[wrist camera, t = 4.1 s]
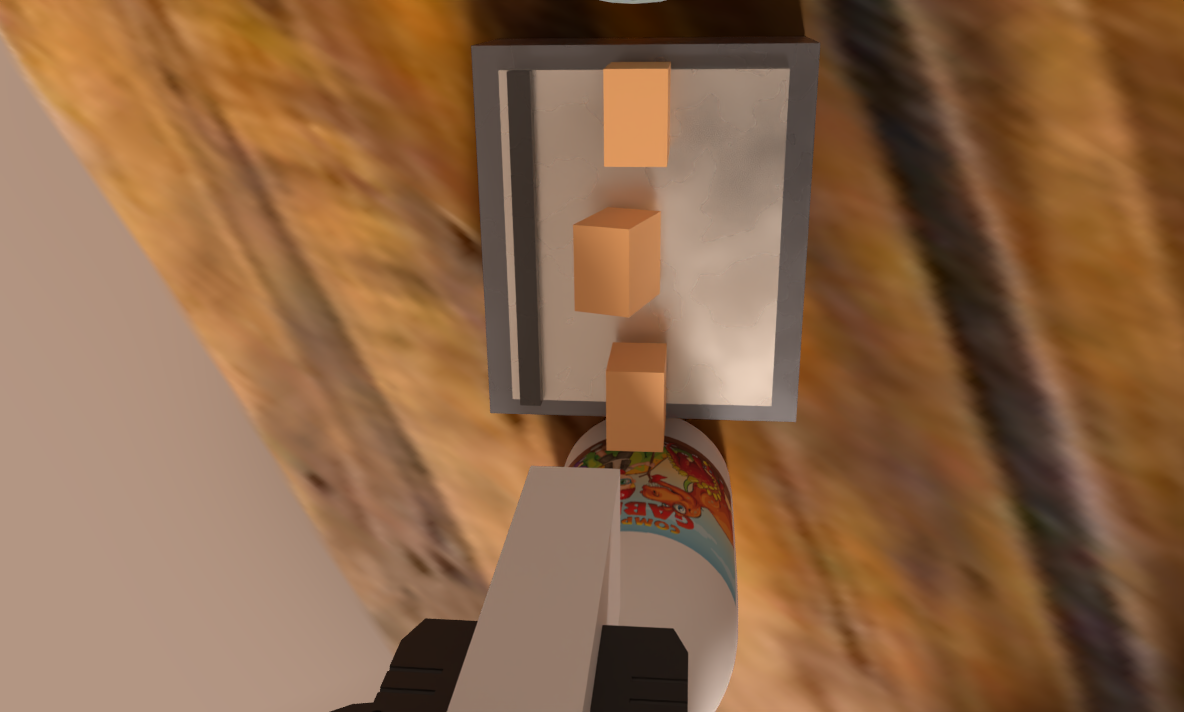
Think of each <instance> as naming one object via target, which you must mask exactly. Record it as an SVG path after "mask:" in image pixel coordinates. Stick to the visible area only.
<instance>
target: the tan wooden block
mask: <svg viewBox="0 0 1184 712" xmlns="http://www.w3.org/2000/svg"><path fill="white" fill-rule="evenodd" d="M666 363H667V343H625V342H613V343H612V348H611V352H610V356H609V360H608V364H607V369H606V451H637V452H663V447H664V434H665V421H666Z"/></svg>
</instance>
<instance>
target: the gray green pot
mask: <svg viewBox="0 0 1184 712" xmlns="http://www.w3.org/2000/svg"><path fill="white" fill-rule="evenodd" d="M601 1H606V2H612V3H628V4H638V3H650V2H661V1H665V0H601Z"/></svg>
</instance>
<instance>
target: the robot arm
mask: <svg viewBox="0 0 1184 712" xmlns="http://www.w3.org/2000/svg"><path fill="white" fill-rule="evenodd" d="M619 615H620V469H607V468H578V467H549V466H531V467H530V470H529V473H528V476H527V479H526V481H525V484H524V487H523V490H522V493H521V496H520V499H519V502H518V505H517V508H516V511H515V514H514V517H513V520H512V522H511V525H510V528H509V531H508V534H507V537H506V540H505V543H504V546H503V549H502V552H501V555H500V558H499V561H498V564H497V566H496V569H495V572H494V575H493V578H492V581H491V584H490V587H489V590H488V593H487V596H486V599H485V602H484V605H483V607H482V610H481V613H480V616H479V619H478V621H465V620H445V619H424V620H423V621H422V622H421V623H420V624H419V625H418V626H417V627H416V628H414V629H413V630H412V631H411V632H410V633H409V634H408V635H407V636H405V637H404V638H403V639H402V640H401V642H400V644H399V646H398V649H397V651H396V653H395V655H394V658H393V660H392V662H391V664H390V670H389V671H387V673H386V676H385V678H384V680H383V682H382V684H381V687H380V688H381V689H380V692H378V693H377V696H376V698H375V700H374V702H373V703H361V704H352V705H349V706H346V707H343V708H340V709H337V710H334V711H331V712H688V651H687V650H686V648H685V646H684V645H683V643H682V641H681V640H680V638H679V636H678V635H677V633H676V632H675V630H674V628H656V627H636V626H618V623H619Z"/></svg>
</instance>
